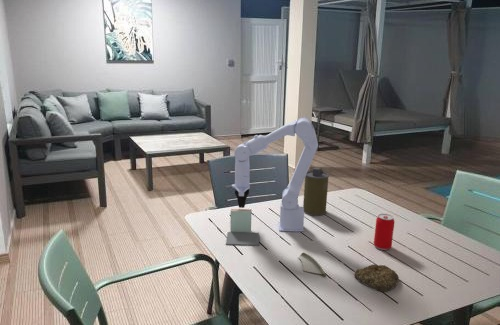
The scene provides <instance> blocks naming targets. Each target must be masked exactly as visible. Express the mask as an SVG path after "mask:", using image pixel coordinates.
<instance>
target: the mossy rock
mask: <svg viewBox="0 0 500 325" xmlns="http://www.w3.org/2000/svg"><path fill="white" fill-rule="evenodd" d="M353 275H354V278H356V280H358V281H359V282H360V283H362V284H363V283H364V285H365V286H367V287H369V288H372V289H374V290H376V291H379V292H387V291H391V290H393V289H394V288H396V286H397V284H398V283H399V282H400V280H399V279H400V277H399V275H398V274H397V271H395V270H393V269H392V268H390V267H389V266H387V265H385V264H383V265H382V264H380V265H378V264H375V263H374V264H369V265H367V266H365V267H363V268H358V269H356V270H355V271H354V273H353Z"/></svg>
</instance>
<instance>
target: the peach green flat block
mask: <svg viewBox="0 0 500 325" xmlns="http://www.w3.org/2000/svg"><path fill="white" fill-rule="evenodd" d="M252 211H253V210H252V209H250V208H249V209H246V208H245V209H244V208H231V209H230V226H229V227H230V230H229V232H252Z"/></svg>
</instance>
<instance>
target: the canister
mask: <svg viewBox="0 0 500 325" xmlns="http://www.w3.org/2000/svg"><path fill="white" fill-rule="evenodd" d="M329 177H330V174H329V173H328V172H326V171H323V168H322V167H317V166H314V167H313V168H312V170H308V172H307V174H306V176H305V179H304V186H303V187H304V188H303V204H302V207H303V208H304V214H305V215H309V216H313V217H315V216H316V217H317V216H318V217H319V216H324V215H325V214H327V200H328V199H327V198H328V186H329Z"/></svg>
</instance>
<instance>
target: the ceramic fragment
mask: <svg viewBox="0 0 500 325" xmlns="http://www.w3.org/2000/svg"><path fill="white" fill-rule="evenodd" d="M297 259H298V260H299V261H300V263H302V268H303V272H304V273H308V274H309V273H310V274H314V275H318V274H319V276H323V277H327V275H326V273H325V271H324V269H323V267H322V266H321V265H320V263H319V262H318V261H317V260H316V259H315V258H314V257H312V256H311V255H310V254H309V253H306V252H304V251H303V252H302V253H301V254H300V255H299V256H298V257H297Z"/></svg>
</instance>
